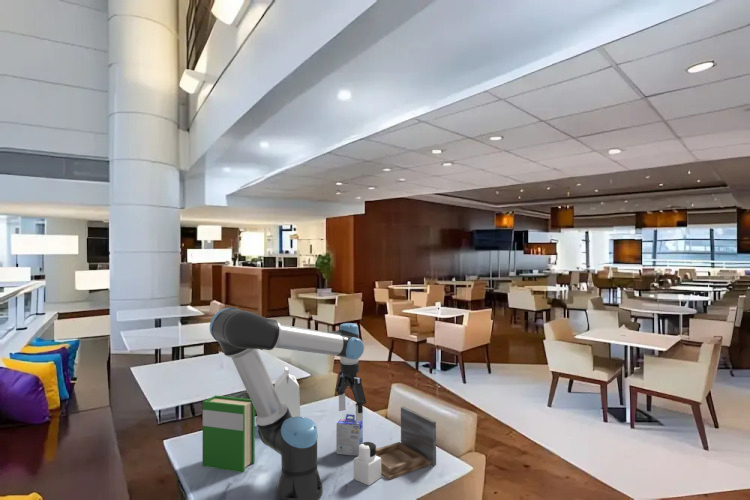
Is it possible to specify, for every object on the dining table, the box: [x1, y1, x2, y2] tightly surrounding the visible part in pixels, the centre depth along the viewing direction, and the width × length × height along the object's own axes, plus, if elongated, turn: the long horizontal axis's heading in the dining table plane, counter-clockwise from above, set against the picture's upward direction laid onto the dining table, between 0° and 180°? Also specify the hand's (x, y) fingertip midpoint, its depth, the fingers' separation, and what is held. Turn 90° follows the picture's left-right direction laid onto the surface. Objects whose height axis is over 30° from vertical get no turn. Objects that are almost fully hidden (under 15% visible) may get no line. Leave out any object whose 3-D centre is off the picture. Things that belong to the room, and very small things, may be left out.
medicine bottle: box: [353, 441, 382, 486], centre depth 150 cm, size 7×7×12 cm
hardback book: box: [201, 395, 256, 473], centre depth 161 cm, size 18×7×24 cm, turn 73°
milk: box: [274, 366, 301, 417], centre depth 200 cm, size 12×12×26 cm
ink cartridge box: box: [335, 413, 364, 457], centre depth 170 cm, size 10×6×14 cm, turn 78°
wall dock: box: [376, 406, 437, 480], centre depth 163 cm, size 21×20×16 cm
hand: (350, 415), depth 171 cm, fingers open, 13 cm apart
